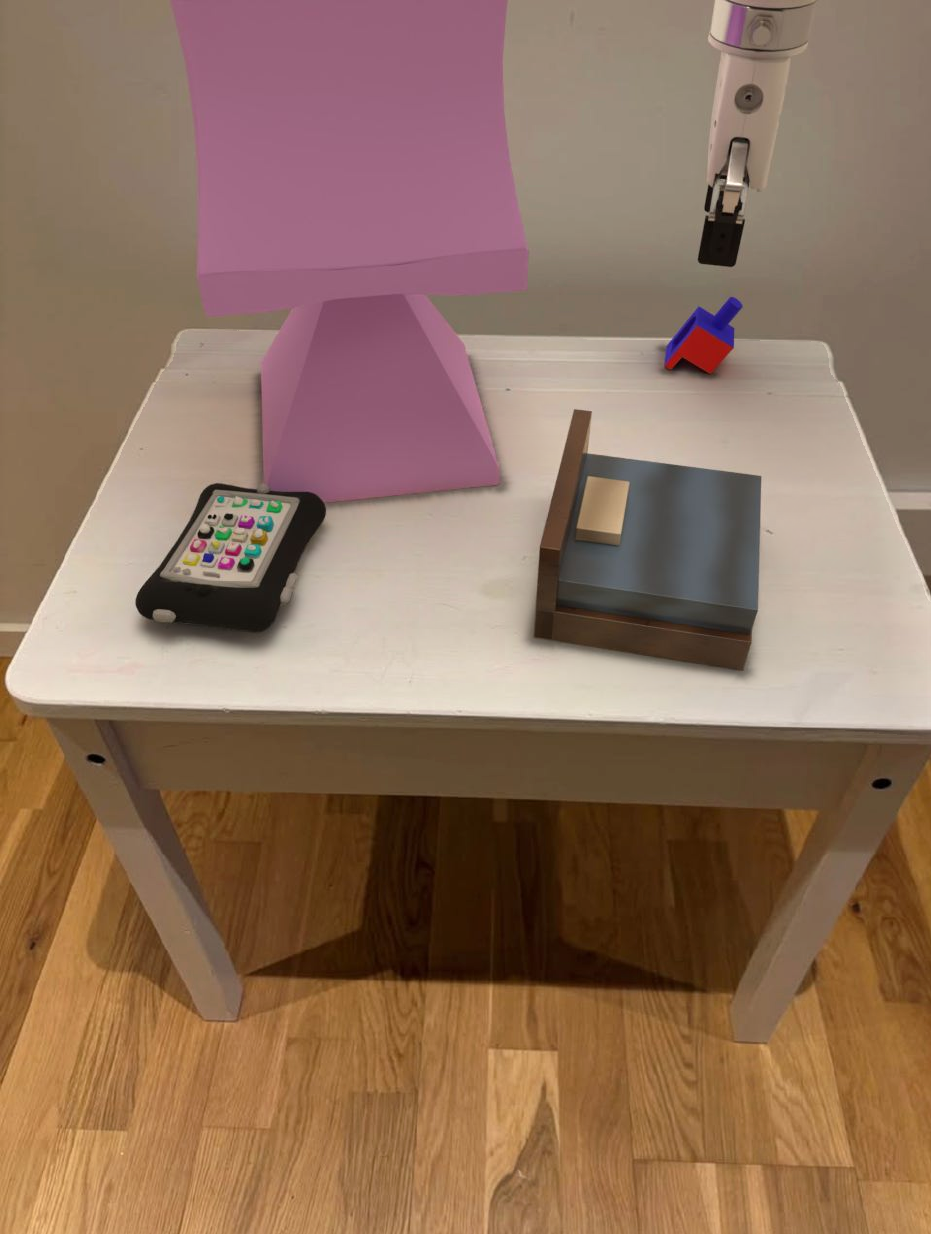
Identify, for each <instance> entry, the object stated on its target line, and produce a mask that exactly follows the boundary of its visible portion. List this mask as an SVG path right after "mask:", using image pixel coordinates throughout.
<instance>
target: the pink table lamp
mask: <svg viewBox="0 0 931 1234" xmlns="http://www.w3.org/2000/svg"><path fill="white" fill-rule="evenodd" d="M169 2H170V5H171V9H172V13H173V17H174V21H175V25H176V31H177V35H178V38H179V44H180V49H181V51H182V52H181V53H182V56H183V60H184V64H185V70H186V76H187V77H186V78H187V84H188V91H189V98H190V105H191V111H192V119H193V133H194V143H195V144H194V145H195V146H194V147H195V158H196V159H195V160H196V175H197V180H196V181H197V255H196V256H197V257H196V258H197V259H196V280H197V283H198V289H199V292H200V293H199V294H200V297H201V302H202V307H203V311H204V316H205V318H214V317H215V318H216V317H226V316H237V315H239V316H240V315H249V314H261V313H272V312H273V313H274V312H278V311H282V310H288V309H291V310H290V311H289V314H288V315H287V317H286V318H285V321H284V322H283V324H282V326H281V327H280V328H279V330H278V332H277V334H276V336H275V338H274V339H273V340H272V342H271V344H270V346H269V348H268V349H267V351H266V352H265V354H264V356H263V357H262V359H261V361H260V380H261V381H260V383H261V421H262V423H261V424H262V425H261V426H262V457H263V458H262V464H263V467H262V468H263V469H262V470H263V483H264V484H266V485H268V486H269V488H270V491H280V492H311V493H314V494H316V495H317V496H319V497H320V499H321V500H322V501H323V502H324V504H326V503H334V502H345V501H354V500H355V501H356V500H363V499H373V498H383V497H391V496H403V495H412V494H421V493H431V492H440V491H452V490H459V489H469V488H479V487H488V486H498V485H500V471H501V469H500V465H499V462H498V458H497V455H496V452H495V447H494V444H493V440H492V437H491V434H490V431H489V427H488V426H489V425H488V423H487V419H486V416H485V413H484V410H483V409H484V408H483V406H482V405H483V404H482V402H481V398H480V394H479V391H478V388H477V384H476V381H475V377H474V373H473V370H472V367H471V366H472V365H471V363H470V359H469V355H468V352H467V349H466V346H465V343H464V342H463V340H462V339H461V338H460V337H459V335H458V334H457V333H456V331H455V330H454V329H453V328H452V326H451V325H450V323H448V322H447V320H446V319H445V317H444V316H443V315H442V314H441V312H440V311H439V310H438V308H437V307H436V306H435V305H434V303H432V301H431V300H430V298H429V297H428V295H430V296H431V295H433V296H460V297H461V296H462V297H463V296H465V297H466V296H478V295H489V294H500V293H513V292H514V293H515V292H523V291H524V292H525V291H528V278H529V261H530V260H529V259H530V258H529V257H530V255H529V254H530V248H529V247H528V243H527V238H526V233H525V228H524V224H523V220H522V214H521V211H520V210H521V209H520V206H519V201H518V197H517V192H516V191H517V190H516V184H515V180H514V173H513V169H512V168H513V167H512V163H511V162H512V161H511V157H510V148H509V139H508V133H507V123H506V116H505V115H506V114H505V96H504V94H505V92H504V69H503V68H504V66H503V62H504V61H503V59H504V47H505V36H506V35H505V34H506V23H507V22H506V20H507V7H508V2H509V1H508V0H169Z"/></svg>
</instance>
